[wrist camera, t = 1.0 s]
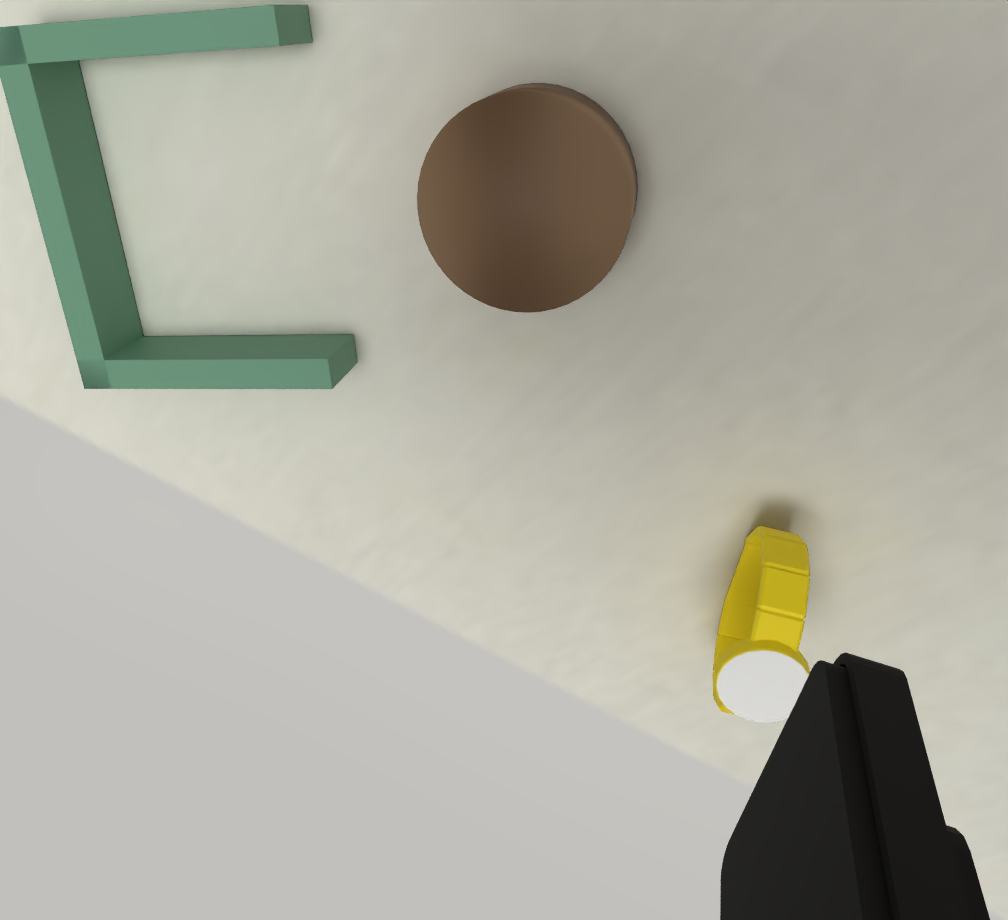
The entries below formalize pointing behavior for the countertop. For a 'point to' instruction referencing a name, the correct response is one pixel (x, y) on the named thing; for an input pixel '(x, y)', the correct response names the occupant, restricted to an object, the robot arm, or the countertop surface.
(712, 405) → the countertop surface
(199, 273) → the countertop surface
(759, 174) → the countertop surface
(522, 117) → the puck
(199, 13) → the green u-shaped frame
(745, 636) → the watch
